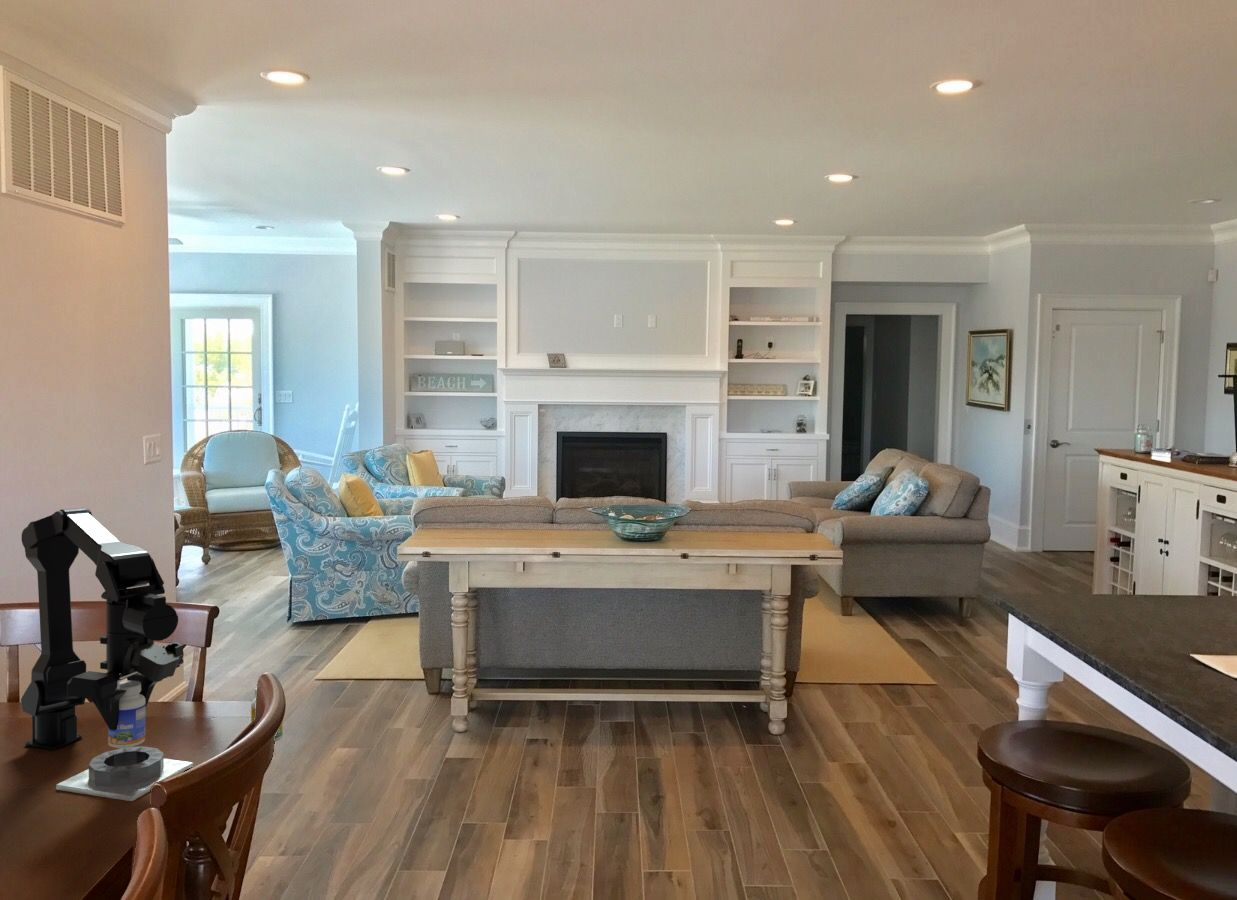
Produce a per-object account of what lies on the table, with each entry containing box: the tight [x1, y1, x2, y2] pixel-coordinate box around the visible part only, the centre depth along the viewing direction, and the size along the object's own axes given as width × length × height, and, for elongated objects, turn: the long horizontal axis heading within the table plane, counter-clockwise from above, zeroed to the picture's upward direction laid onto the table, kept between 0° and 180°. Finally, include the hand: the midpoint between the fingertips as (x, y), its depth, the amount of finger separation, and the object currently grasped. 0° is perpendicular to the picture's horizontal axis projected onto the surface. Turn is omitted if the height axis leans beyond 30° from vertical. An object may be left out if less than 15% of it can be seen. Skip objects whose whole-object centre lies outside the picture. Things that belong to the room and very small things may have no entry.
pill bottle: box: [107, 680, 146, 749], centre depth 156 cm, size 5×5×10 cm
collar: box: [55, 745, 194, 802], centre depth 156 cm, size 14×14×3 cm
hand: (126, 723), depth 156 cm, fingers closed on pill bottle, 5 cm apart
